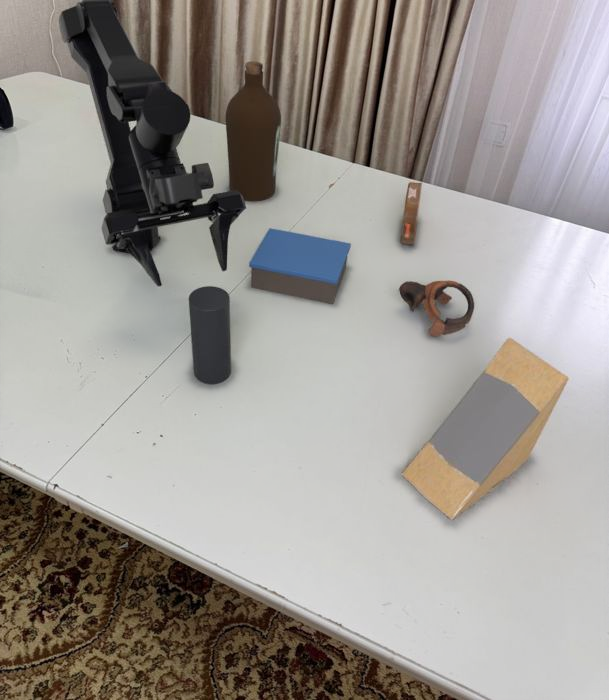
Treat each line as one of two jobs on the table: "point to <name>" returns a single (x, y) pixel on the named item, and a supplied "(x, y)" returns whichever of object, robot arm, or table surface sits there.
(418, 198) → the tin
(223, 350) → the dark grey cylinder
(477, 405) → the sandwich container
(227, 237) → the robot arm
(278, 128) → the olive oil
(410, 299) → the brown ring with knob
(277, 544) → the table surface
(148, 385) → the table surface
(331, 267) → the container
